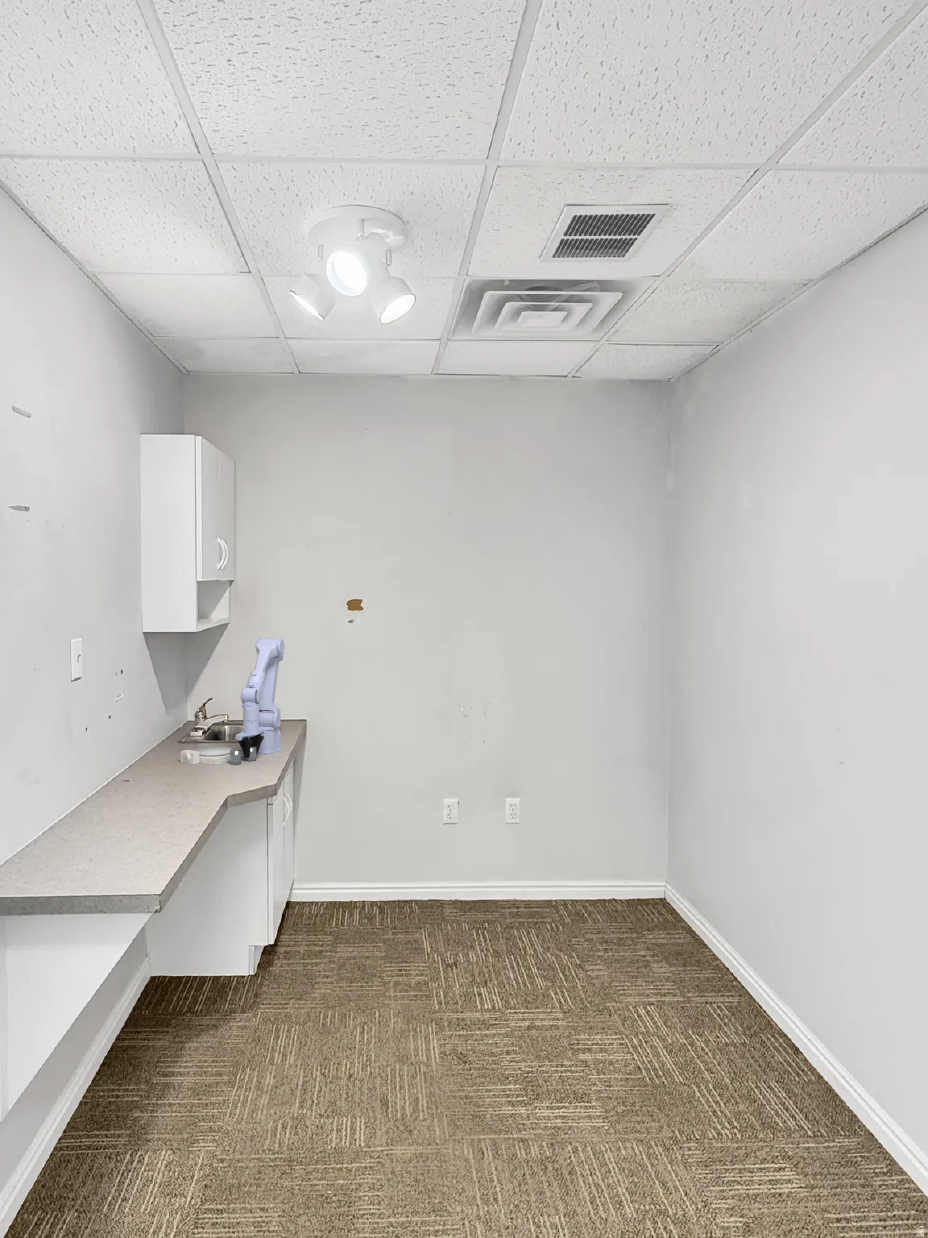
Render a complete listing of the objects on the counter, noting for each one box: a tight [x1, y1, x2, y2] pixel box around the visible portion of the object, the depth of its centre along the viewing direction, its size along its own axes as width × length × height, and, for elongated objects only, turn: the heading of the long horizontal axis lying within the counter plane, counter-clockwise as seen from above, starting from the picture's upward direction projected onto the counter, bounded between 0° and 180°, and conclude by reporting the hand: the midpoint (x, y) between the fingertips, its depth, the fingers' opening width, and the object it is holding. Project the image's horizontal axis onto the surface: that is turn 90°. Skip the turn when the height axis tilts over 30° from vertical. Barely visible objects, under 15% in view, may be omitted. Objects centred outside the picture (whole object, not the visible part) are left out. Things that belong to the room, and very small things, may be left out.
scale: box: [180, 745, 244, 765], centre depth 309 cm, size 20×16×4 cm
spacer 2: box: [244, 746, 257, 763], centre depth 309 cm, size 4×4×5 cm
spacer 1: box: [229, 748, 243, 766], centre depth 303 cm, size 4×4×5 cm
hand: (250, 756), depth 309 cm, fingers closed on spacer 2, 4 cm apart
